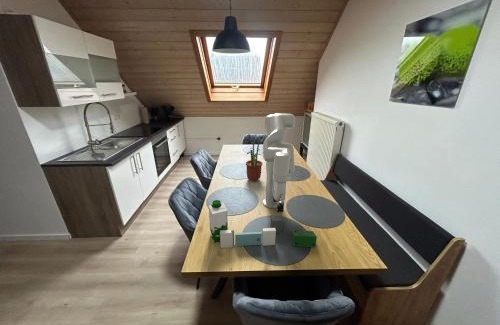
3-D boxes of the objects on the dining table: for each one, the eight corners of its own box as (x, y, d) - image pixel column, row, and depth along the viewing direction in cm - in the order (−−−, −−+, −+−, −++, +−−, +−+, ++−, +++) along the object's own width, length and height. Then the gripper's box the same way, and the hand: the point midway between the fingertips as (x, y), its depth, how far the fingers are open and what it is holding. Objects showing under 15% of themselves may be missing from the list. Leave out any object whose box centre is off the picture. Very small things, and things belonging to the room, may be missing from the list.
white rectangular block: (220, 244, 106) (220, 230, 102) (273, 241, 108) (275, 227, 105) (220, 247, 104) (219, 233, 100) (274, 244, 106) (275, 230, 103)
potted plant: (243, 177, 175) (243, 136, 161) (259, 174, 181) (261, 135, 168) (252, 187, 160) (253, 143, 147) (269, 183, 166) (272, 140, 153)
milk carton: (224, 229, 117) (223, 197, 109) (230, 240, 109) (229, 207, 101) (209, 233, 113) (206, 201, 106) (213, 244, 106) (211, 211, 98)
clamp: (308, 246, 111) (316, 232, 110) (311, 253, 105) (319, 238, 104) (287, 237, 111) (295, 223, 110) (289, 243, 105) (298, 228, 104)
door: (235, 244, 106) (235, 233, 103) (260, 242, 107) (261, 231, 104) (235, 247, 104) (235, 236, 101) (261, 246, 105) (262, 235, 102)
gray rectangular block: (270, 227, 118) (270, 215, 115) (280, 226, 119) (281, 215, 116) (271, 232, 114) (272, 220, 111) (282, 232, 115) (283, 220, 112)
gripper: (269, 170, 112) (268, 197, 118) (276, 185, 96) (274, 216, 102) (283, 169, 112) (281, 197, 119) (292, 185, 96) (289, 216, 103)
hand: (278, 206), depth 110 cm, fingers open, 9 cm apart
